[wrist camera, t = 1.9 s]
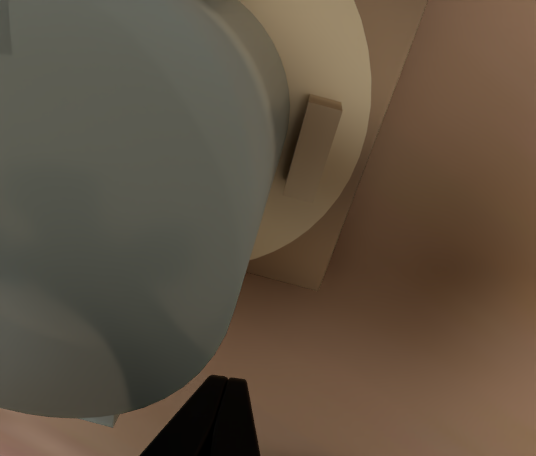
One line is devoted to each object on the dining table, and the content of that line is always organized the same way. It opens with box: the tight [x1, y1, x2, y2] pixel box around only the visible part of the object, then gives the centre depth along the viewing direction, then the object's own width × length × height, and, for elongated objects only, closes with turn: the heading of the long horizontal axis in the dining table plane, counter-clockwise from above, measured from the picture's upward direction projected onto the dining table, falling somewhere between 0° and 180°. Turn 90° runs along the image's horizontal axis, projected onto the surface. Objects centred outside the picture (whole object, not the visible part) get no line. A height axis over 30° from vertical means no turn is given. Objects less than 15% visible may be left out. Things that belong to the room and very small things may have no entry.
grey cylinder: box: [0, 0, 290, 428], centre depth 8 cm, size 10×6×7 cm, turn 167°
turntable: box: [239, 0, 371, 260], centre depth 11 cm, size 10×10×2 cm
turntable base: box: [246, 0, 428, 291], centre depth 12 cm, size 11×11×1 cm
